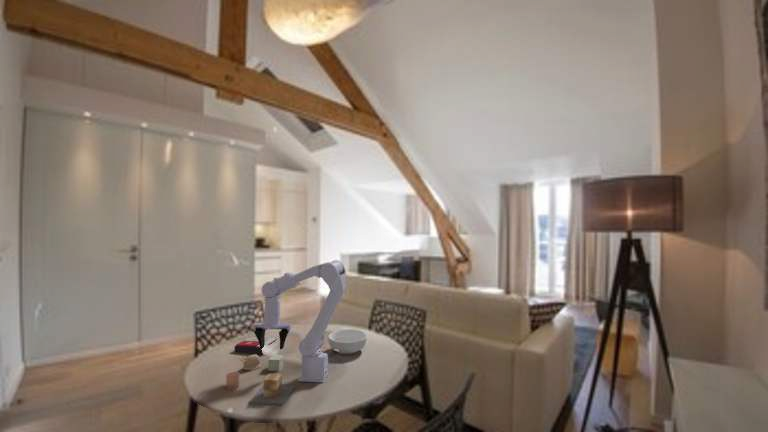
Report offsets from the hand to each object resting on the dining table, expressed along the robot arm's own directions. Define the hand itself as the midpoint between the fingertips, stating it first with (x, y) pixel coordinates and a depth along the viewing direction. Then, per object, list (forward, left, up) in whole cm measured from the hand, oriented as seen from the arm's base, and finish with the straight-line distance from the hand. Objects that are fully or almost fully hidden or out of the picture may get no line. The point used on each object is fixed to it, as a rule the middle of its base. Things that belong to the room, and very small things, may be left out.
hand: (272, 348), depth 131 cm
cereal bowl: (-24, -24, -10) cm, 36 cm away
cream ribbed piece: (+10, -3, -10) cm, 14 cm away
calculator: (+16, -22, -10) cm, 30 cm away
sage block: (0, -4, -10) cm, 10 cm away
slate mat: (-7, +16, -9) cm, 20 cm away
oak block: (-7, +16, -9) cm, 20 cm away
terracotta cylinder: (+9, +12, -10) cm, 18 cm away
